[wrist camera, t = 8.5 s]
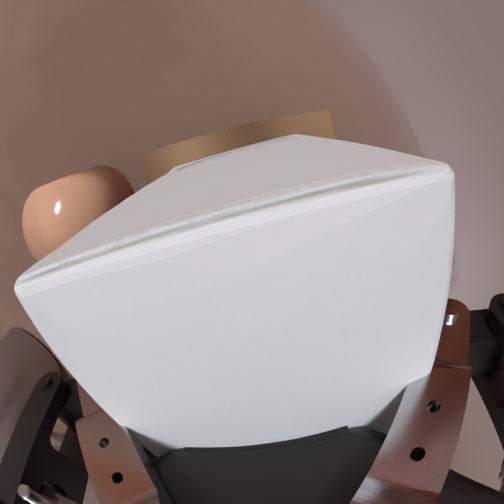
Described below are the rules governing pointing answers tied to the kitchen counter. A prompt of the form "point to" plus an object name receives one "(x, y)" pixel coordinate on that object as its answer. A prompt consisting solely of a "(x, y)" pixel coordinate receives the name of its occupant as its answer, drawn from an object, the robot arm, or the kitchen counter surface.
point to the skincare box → (256, 293)
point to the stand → (235, 140)
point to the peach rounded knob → (70, 207)
